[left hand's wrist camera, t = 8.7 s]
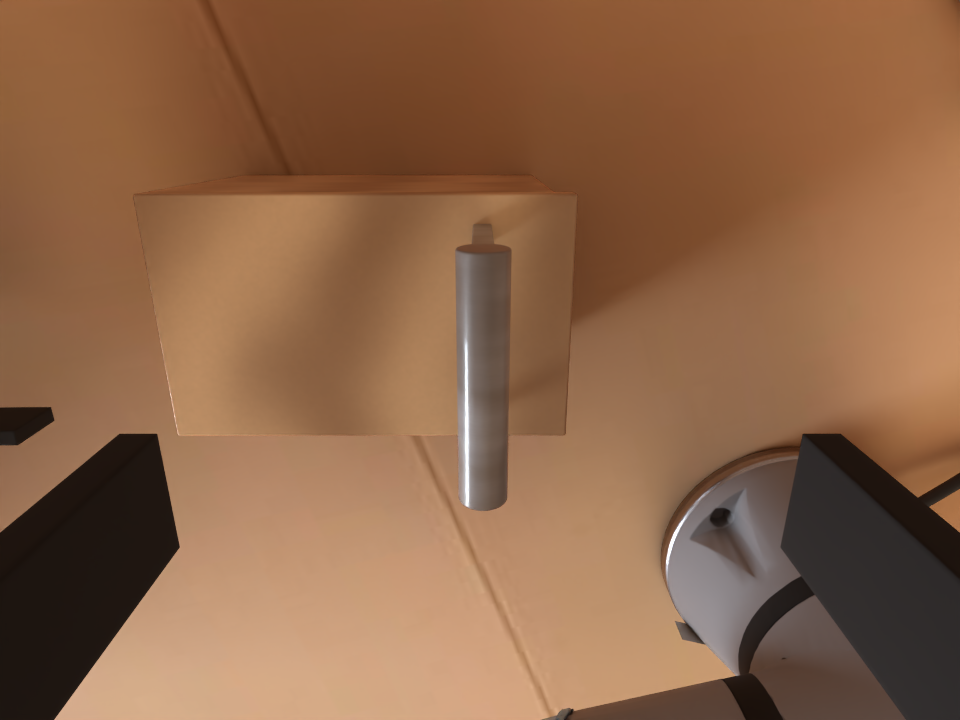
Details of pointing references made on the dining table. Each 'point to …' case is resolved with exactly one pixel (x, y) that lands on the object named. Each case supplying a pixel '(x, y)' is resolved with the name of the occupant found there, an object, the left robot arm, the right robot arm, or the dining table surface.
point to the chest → (368, 183)
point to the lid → (367, 316)
